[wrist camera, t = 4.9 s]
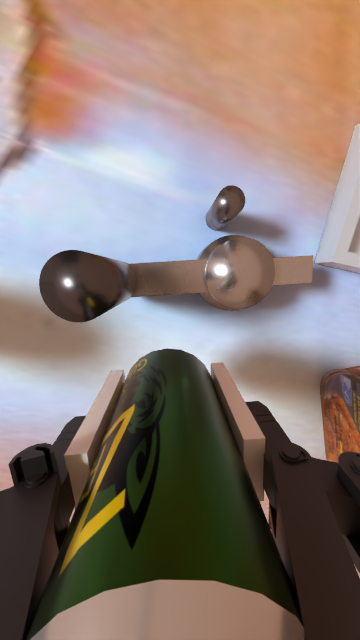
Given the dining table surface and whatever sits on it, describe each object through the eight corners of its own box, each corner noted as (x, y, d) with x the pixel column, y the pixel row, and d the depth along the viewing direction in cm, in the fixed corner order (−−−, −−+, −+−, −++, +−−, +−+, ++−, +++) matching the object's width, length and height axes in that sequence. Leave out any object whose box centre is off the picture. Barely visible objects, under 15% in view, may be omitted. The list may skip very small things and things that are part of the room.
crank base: (207, 205, 20) (219, 182, 15) (274, 220, 20) (308, 203, 15) (165, 404, 23) (163, 439, 18) (223, 414, 23) (237, 450, 18)
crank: (304, 236, 18) (422, 203, 10) (302, 300, 19) (406, 321, 11) (96, 249, 18) (28, 226, 9) (105, 313, 19) (50, 346, 10)
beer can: (221, 355, 15) (437, 719, 3) (197, 428, 16) (282, 908, 4) (137, 335, 14) (-24, 677, 2) (118, 411, 15) (-57, 912, 3)
